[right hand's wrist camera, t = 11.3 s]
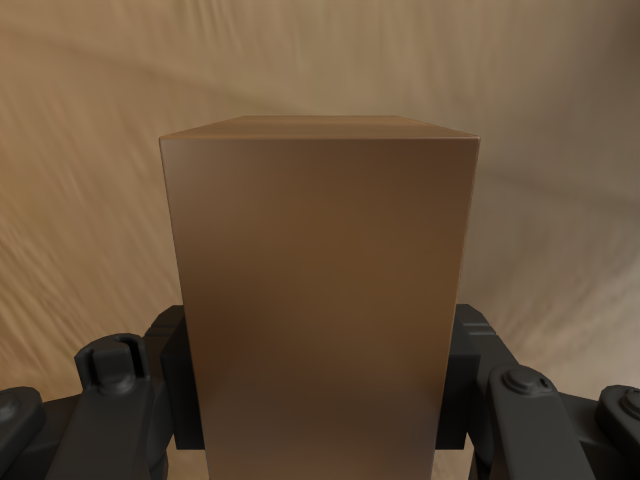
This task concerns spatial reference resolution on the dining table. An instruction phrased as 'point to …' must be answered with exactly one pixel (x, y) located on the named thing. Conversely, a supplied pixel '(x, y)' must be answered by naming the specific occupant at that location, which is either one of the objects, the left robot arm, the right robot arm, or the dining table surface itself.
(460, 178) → the beam
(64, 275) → the dining table surface
